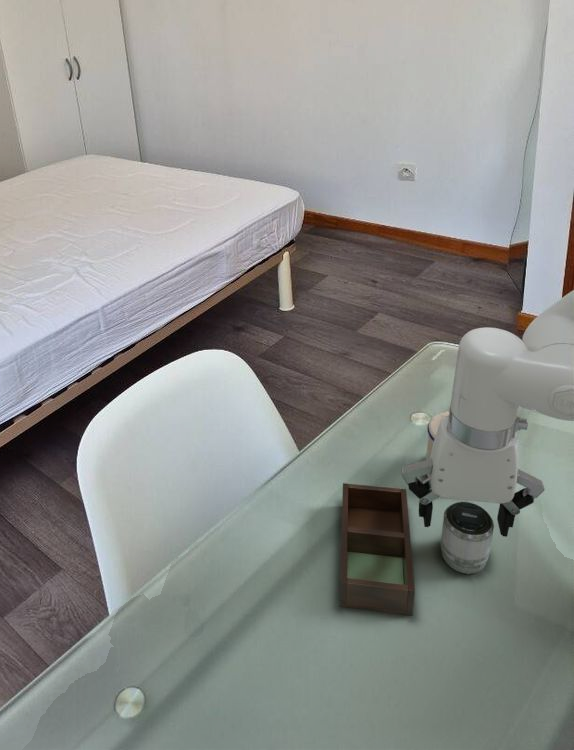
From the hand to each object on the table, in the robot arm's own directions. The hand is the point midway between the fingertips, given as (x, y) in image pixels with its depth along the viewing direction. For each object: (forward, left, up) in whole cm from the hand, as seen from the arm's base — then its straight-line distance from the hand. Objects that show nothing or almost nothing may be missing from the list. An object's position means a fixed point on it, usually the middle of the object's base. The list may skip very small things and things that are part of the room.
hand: (463, 523), depth 92 cm
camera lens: (-1, 0, -6) cm, 6 cm away
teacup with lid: (-3, -16, -6) cm, 17 cm away
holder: (+11, +2, -6) cm, 13 cm away
